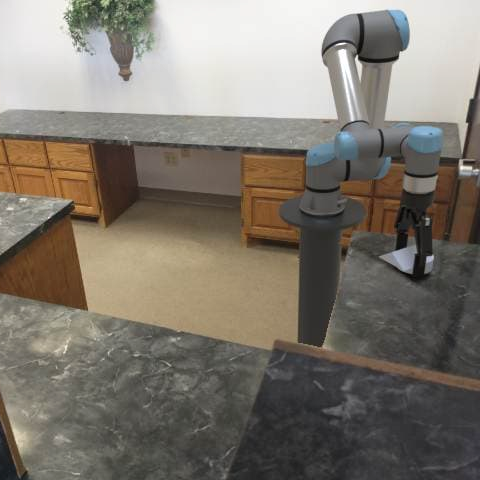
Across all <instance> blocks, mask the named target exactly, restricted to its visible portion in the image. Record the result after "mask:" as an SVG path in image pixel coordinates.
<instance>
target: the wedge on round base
mask: <svg viewBox="0 0 480 480" xmlns="http://www.w3.org/2000/svg"><path fill="white" fill-rule="evenodd" d="M416 253H417V249H416V244H413V245H410V246H407V248H403V249H400V250H397V251H395V250H393V251H391V252H389V253H385V254H382V255H379V256H378V258H380V259H382V260H383V261H385V262H387V263H389V264H390V265H392V266H394V267H396V268H397V269H398V270H399V271H401V272H404V273H407V274H410V275H412V273H413V265H414V258H415V255H414V254H416ZM434 260H435V256H434V254H433V255H432V256H428V257H427V258H426V265H425V272H424V275H426V274H429V273H430V272H432V271H433V267H434Z"/></svg>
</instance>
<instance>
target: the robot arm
mask: <svg viewBox="0 0 480 480" xmlns="http://www.w3.org/2000/svg"><path fill="white" fill-rule="evenodd" d="M410 37H411V31H410V23H409V19H408V16H407V14H406V13H405V12H404V11H403V10H401V9H383V10H375V11H374V10H373V11H366V12H360V13H359V12H358V13H349V14H346V15H344V16H341V17H340V18H338V19H337V20H336V21H335V22H334V23H333V24H332V25H331V26H330V27H329V28H328V30H327V31H326V33H325V35H324V38H323V40H322V43H321V51H320V52H321V53H320V54H321V58H322V63H323V65H324V66H325V67H326V68H327V70H328V71H327V72H328V76H329V81H330V86H331V90H332V95H333V101H334V107H335V110H336V114H337V115H336V116H337V120H338V126H339V130H340V131H339V132H337V133H336V134H335V136H334V141H333V142H324V143H319V144H316V145H314V146H312V147H310V148H309V149H308V150H307V152H306V157H305V190H304V192H303V197H302V200H301V203H300V211H301V212H302V213H303V214H305V215H307V216H310V217H315V218H330V217H335V216H338V215H340V214H342V213H343V212H344V208H345V204H344V202H346V201H347V198H346V199H343V198H342V196H343V195H342V191H341V183H342V182H343V183H344V182H357V181H358V182H361V181H373V180H379V179H382V178H384V177H385V176H386V175H387V174H388V172H389V169H390V167H391V162H392V158H393V157H394V158H395V157H402V158H403V159H405V161H404V170H403V177H402V184H401V185H402V186H401V187H402V190H401V196H400V201H399V208H398V211H397V213H396V217H395V221H394V224H393V228H394V229H395V232H396V242H395V250H394V251H397V250H400V249H403V248H407V247H408V240H409V232H410V230H409V229H410V228H411V229H412V230H413V232H414V233H413V234H414V241H415V245H416V249H417V253H416V254H414V255H415V258H414V265H413V273H412V274H411V276H412V277H413V278H415V277H424V276H425V274H424V272H425V265H426V258H427V257H428V256H432V255H433V256H434V253H433V252H434V251H433V223H434V219H433V217H428V213H427V211H428V208H431V207H432V206H433V205H434V201H435V195H436V191H435V190H436V187H437V181H438V180H437V179H439V175H438V174H439V167H440V161H441V153H442V149H443V144H444V142H443V139H444V133H443V130H442V129H441V128H440V127H435V126H433V125H432V126H431V125H421V126H415V125H414V124H411V123H407V122H401V123H397V124H396V125H394V126H393V127H387V128H385V120H386V113H387V106H388V100H389V99H388V98H389V92H390V86H391V85H390V84H391V79H392V78H391V77H392V70H393V65H394V64H395V63H396V62H397V61H399V59H400V54H401V53H402V52H405V51H406V50H407V49H408V47H409V44H410V40H411V39H410ZM356 58H357V61H358V62H359V63H360V64H361V74H360V76H359V71H358V66H357V63H356Z"/></svg>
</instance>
